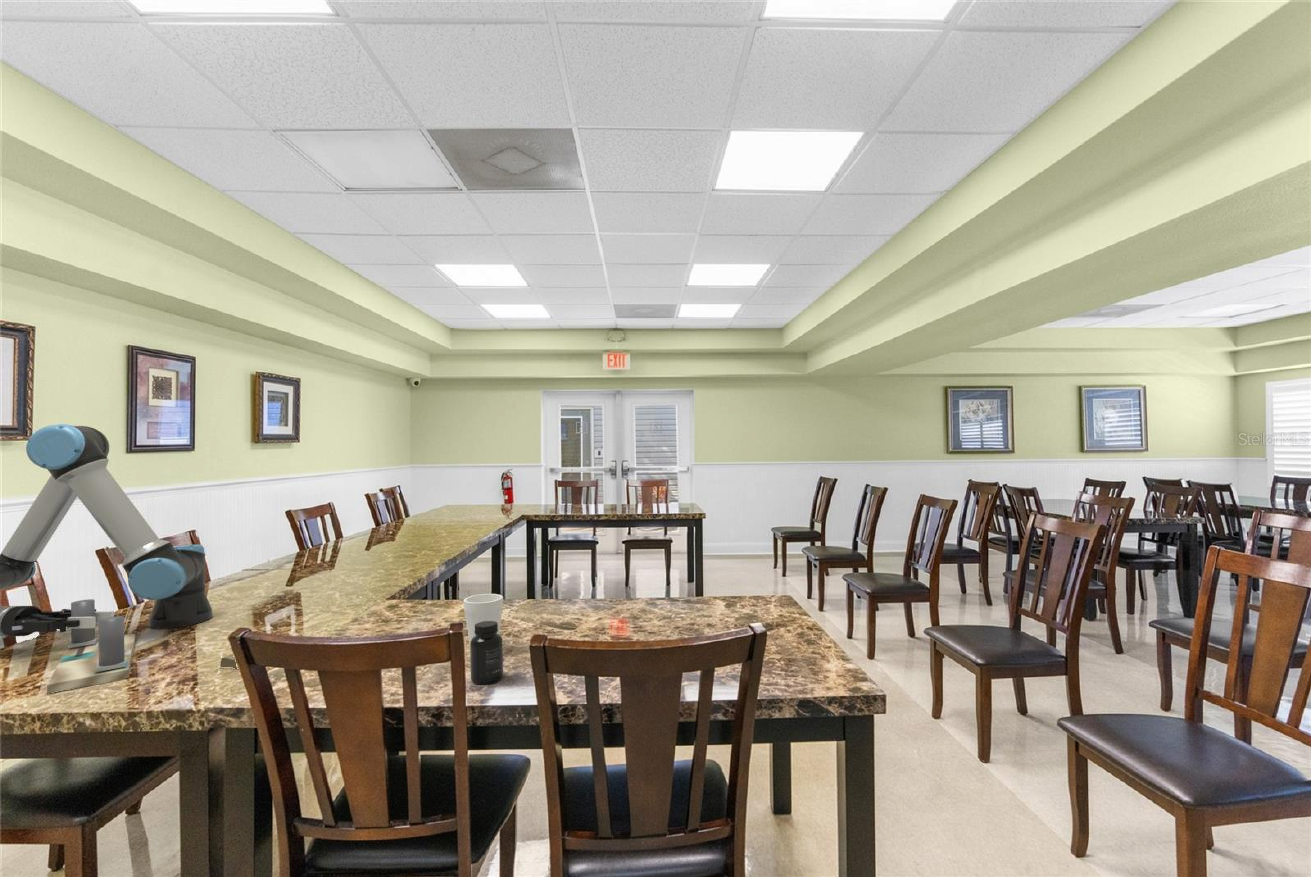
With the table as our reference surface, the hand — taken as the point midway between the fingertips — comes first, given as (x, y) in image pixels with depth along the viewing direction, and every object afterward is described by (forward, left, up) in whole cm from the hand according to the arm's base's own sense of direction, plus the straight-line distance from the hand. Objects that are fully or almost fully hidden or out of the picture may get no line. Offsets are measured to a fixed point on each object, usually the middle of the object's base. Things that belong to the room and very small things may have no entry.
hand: (103, 619), depth 155 cm
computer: (-31, +33, -9) cm, 46 cm away
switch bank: (+1, +10, -9) cm, 13 cm away
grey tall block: (-3, +24, -7) cm, 26 cm away
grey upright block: (+4, -3, -7) cm, 8 cm away
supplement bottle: (-67, +84, -9) cm, 108 cm away
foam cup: (-74, +66, -9) cm, 100 cm away
